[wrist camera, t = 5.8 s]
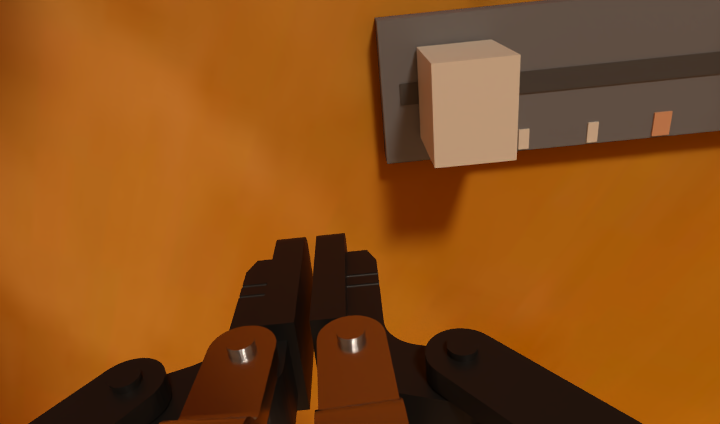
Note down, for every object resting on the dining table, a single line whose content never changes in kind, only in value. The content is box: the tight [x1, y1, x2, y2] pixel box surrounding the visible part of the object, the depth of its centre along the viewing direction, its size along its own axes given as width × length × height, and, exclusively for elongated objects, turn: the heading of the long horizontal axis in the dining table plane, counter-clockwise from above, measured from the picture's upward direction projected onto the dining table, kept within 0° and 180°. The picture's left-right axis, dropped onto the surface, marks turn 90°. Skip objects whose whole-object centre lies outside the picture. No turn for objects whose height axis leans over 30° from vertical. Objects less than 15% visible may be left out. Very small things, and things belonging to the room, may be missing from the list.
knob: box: [417, 39, 521, 168], centre depth 27 cm, size 4×5×5 cm
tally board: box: [375, 0, 720, 164], centre depth 30 cm, size 24×8×2 cm, turn 95°
